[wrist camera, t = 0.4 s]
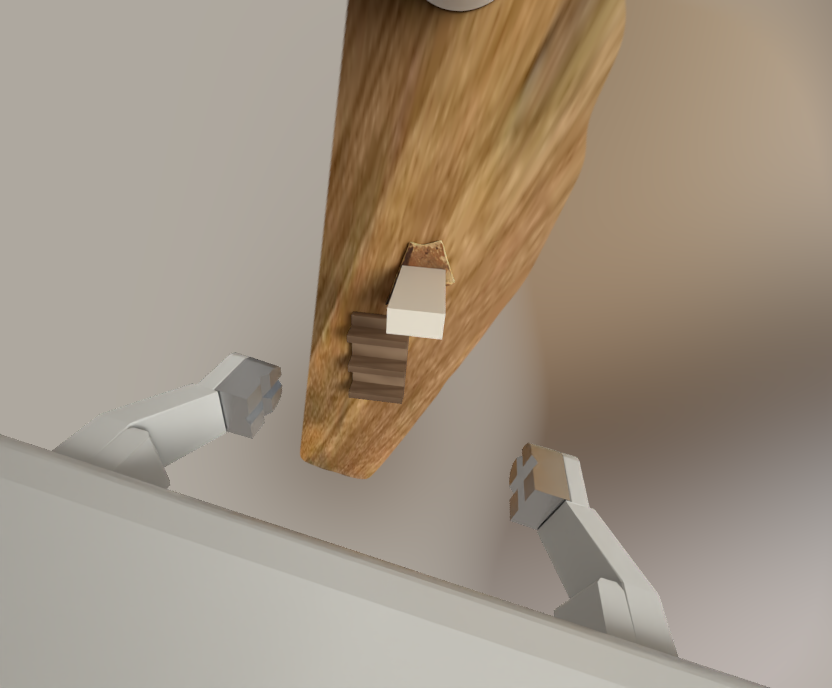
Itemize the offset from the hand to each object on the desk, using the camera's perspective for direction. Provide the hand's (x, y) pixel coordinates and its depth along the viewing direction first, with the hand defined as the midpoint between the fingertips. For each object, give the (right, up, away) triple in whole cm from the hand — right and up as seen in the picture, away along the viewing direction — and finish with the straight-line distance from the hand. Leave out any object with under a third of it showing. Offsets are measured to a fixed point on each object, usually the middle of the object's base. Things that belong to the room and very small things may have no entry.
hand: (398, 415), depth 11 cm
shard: (+2, +12, +39) cm, 41 cm away
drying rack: (-5, 0, +46) cm, 47 cm away
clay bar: (+2, +12, +37) cm, 39 cm away
